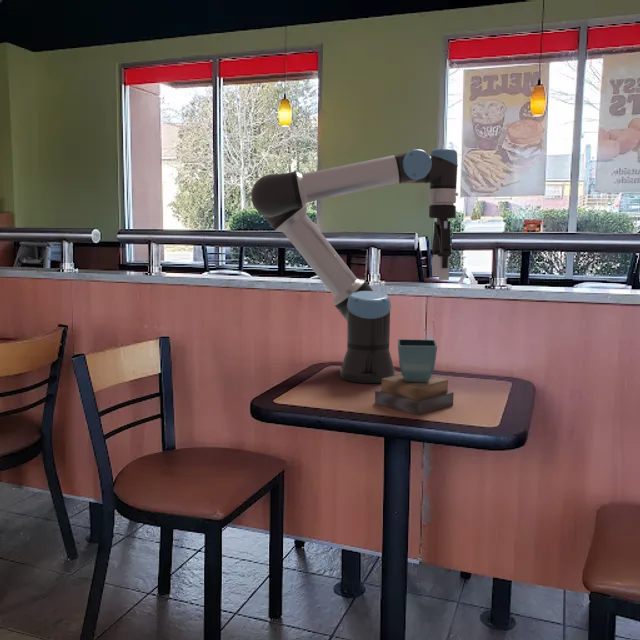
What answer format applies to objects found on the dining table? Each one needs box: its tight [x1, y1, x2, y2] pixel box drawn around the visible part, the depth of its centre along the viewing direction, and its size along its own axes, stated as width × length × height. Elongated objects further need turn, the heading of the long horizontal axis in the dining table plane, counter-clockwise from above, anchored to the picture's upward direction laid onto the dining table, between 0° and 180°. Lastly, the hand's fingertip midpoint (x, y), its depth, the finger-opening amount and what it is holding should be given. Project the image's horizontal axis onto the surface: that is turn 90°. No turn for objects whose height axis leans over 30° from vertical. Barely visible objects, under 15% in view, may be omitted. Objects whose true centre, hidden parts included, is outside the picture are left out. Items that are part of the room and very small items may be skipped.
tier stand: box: [374, 373, 455, 416], centre depth 153 cm, size 13×13×6 cm
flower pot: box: [397, 338, 438, 382], centre depth 151 cm, size 9×9×9 cm
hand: (440, 278), depth 190 cm, fingers open, 13 cm apart
